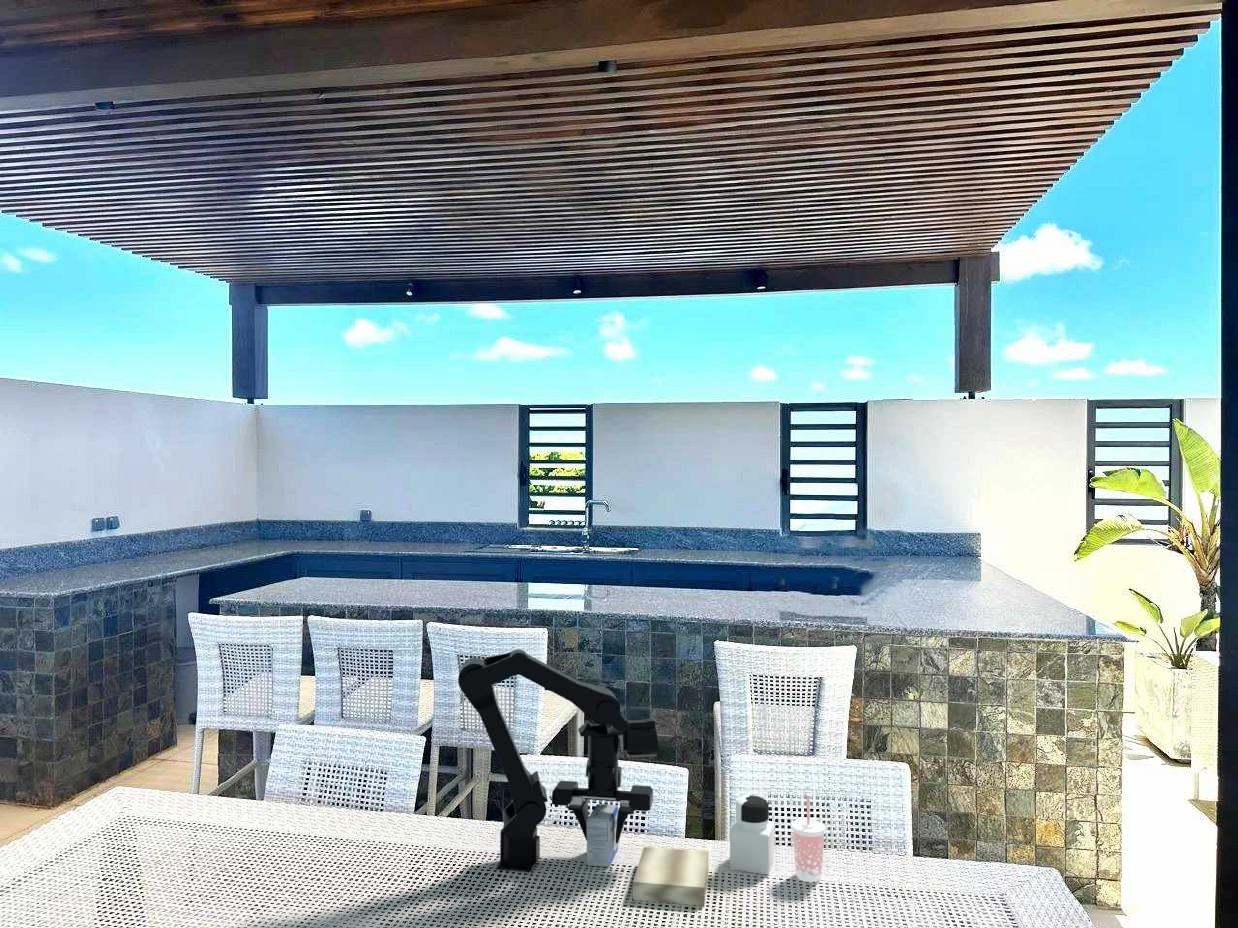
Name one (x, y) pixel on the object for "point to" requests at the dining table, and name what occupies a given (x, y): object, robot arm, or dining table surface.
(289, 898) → the dining table surface
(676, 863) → the wood pedestal
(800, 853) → the beverage cup
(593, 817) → the medicine box
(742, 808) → the medicine bottle
